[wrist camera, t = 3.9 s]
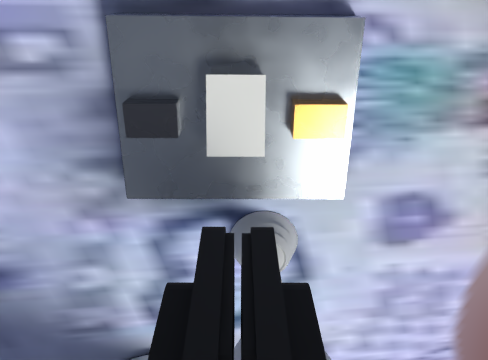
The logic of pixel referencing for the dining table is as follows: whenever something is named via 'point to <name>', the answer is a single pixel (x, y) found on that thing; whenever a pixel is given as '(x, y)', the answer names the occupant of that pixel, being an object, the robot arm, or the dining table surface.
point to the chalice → (283, 237)
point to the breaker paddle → (235, 115)
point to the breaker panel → (235, 63)
